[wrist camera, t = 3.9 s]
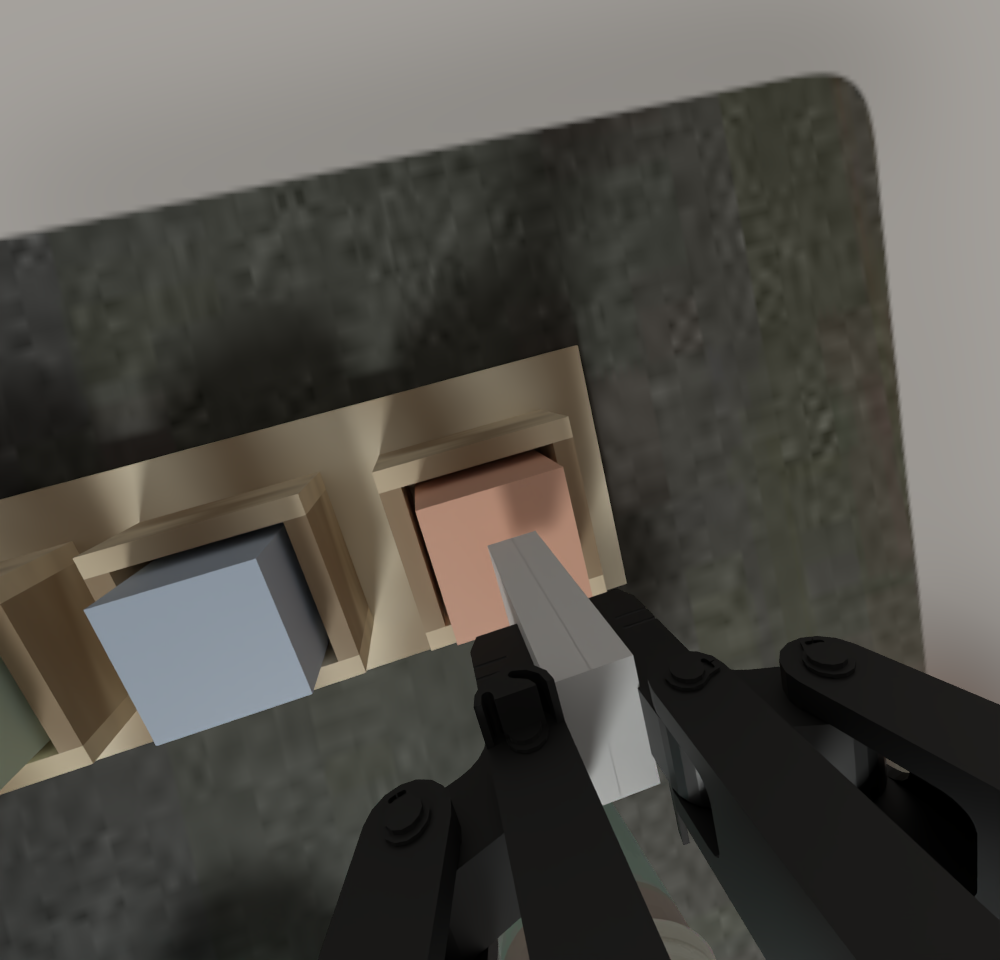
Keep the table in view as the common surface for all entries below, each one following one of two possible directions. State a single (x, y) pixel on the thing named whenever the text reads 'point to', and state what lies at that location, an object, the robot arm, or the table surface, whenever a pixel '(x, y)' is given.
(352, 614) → the button panel
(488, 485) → the terracotta button
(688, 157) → the table surface
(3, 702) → the sage button
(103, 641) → the slate button
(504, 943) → the coffee cup
